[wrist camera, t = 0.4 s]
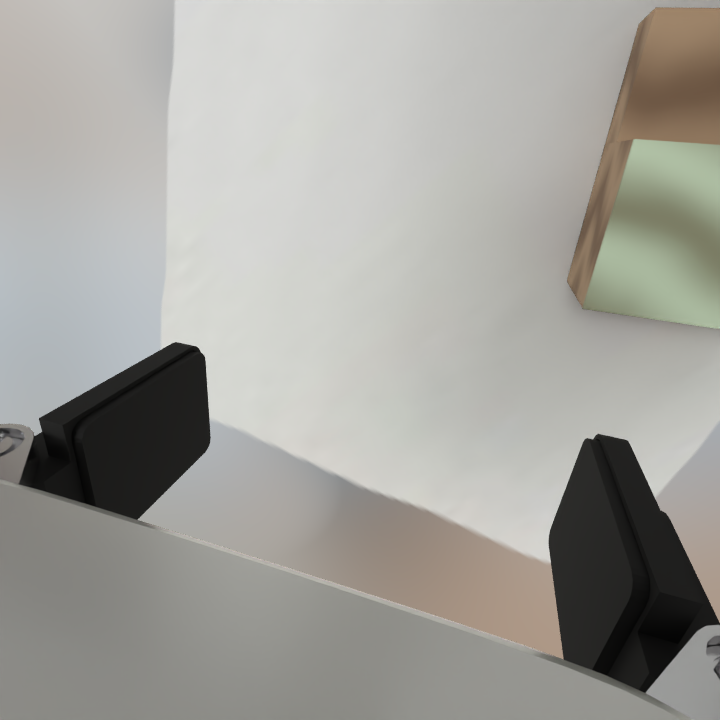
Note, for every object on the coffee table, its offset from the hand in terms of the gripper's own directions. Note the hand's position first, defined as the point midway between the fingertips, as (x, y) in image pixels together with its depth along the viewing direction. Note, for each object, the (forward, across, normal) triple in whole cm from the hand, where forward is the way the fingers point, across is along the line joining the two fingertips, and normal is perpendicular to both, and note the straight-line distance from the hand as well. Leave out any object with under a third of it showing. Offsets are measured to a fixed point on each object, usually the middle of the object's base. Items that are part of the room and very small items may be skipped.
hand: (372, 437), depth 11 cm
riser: (+30, -15, -7) cm, 34 cm away
